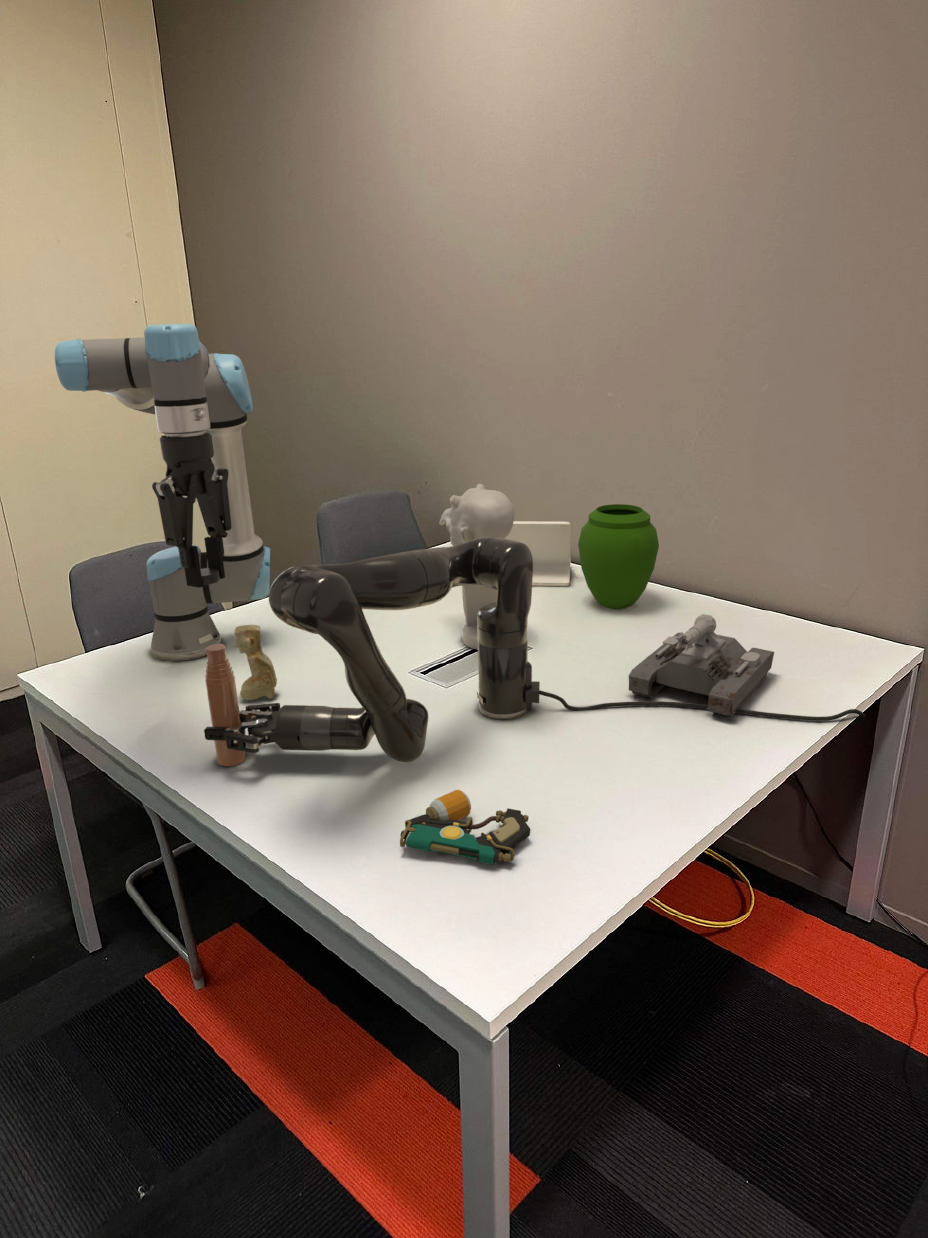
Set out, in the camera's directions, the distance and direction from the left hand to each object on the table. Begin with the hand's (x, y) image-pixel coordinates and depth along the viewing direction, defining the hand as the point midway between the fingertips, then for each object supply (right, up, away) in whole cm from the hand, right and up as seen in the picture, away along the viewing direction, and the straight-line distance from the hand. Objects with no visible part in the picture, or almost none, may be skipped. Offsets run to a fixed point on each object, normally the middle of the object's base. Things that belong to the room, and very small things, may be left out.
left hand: (206, 581), depth 136 cm
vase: (+79, -3, +79) cm, 112 cm away
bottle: (+1, -30, +11) cm, 32 cm away
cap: (0, +1, 0) cm, 1 cm away
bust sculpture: (+44, -10, +61) cm, 76 cm away
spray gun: (+42, -38, -13) cm, 58 cm away
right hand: (-2, -24, +9) cm, 26 cm away
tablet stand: (+58, +6, +103) cm, 119 cm away
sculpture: (0, -22, +34) cm, 40 cm away
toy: (+88, -19, +33) cm, 96 cm away
